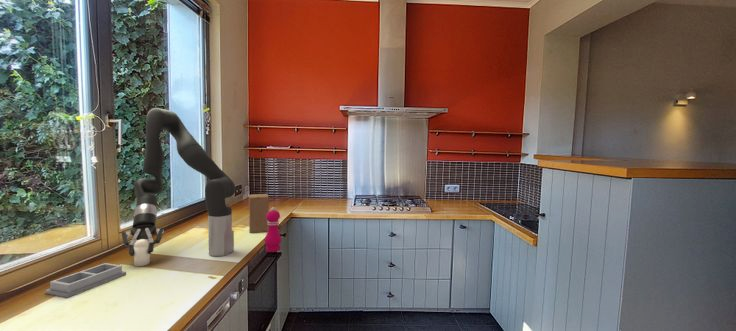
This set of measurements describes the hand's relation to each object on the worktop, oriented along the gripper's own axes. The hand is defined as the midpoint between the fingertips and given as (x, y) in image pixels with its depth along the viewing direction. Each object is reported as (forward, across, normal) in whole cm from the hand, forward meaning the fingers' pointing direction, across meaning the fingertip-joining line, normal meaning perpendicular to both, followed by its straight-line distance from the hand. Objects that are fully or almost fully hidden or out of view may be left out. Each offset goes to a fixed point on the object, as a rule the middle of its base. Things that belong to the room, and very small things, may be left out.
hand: (141, 254), depth 109 cm
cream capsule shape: (+2, 0, +5) cm, 5 cm away
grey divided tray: (+10, -13, -3) cm, 16 cm away
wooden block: (-17, +49, +24) cm, 57 cm away
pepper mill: (+8, +49, -1) cm, 49 cm away
